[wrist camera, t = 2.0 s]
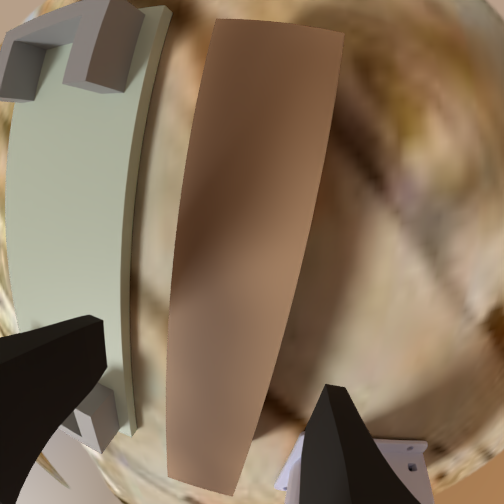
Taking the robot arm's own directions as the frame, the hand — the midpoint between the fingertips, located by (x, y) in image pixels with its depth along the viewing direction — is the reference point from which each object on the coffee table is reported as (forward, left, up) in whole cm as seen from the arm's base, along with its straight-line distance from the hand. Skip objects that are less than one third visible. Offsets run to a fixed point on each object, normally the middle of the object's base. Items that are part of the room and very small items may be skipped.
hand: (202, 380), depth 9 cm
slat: (0, 0, -7) cm, 7 cm away
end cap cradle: (+12, 0, -7) cm, 14 cm away
